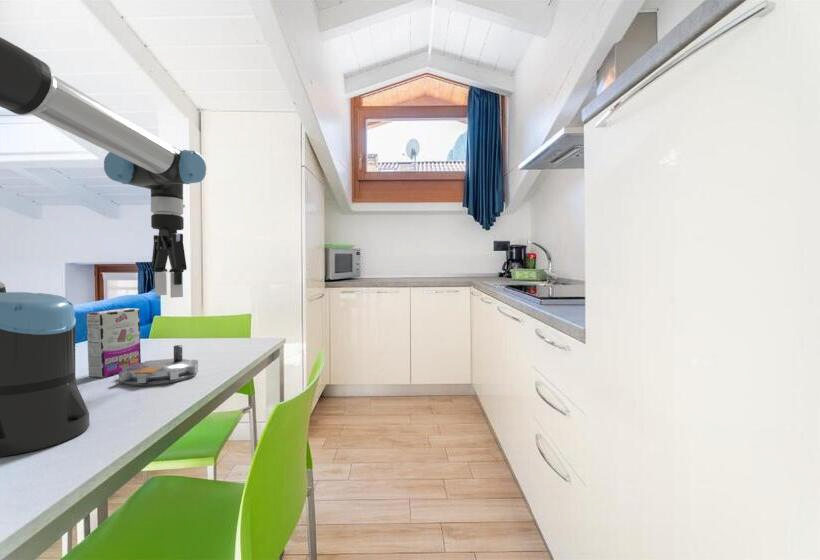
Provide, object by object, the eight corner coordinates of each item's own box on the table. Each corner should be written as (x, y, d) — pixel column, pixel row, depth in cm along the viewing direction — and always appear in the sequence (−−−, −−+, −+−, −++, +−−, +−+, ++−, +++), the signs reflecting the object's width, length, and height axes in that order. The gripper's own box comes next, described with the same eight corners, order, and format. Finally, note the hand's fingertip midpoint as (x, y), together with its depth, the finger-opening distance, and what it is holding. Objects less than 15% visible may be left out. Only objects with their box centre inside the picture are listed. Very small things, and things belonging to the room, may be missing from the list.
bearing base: (134, 390, 89) (134, 387, 89) (113, 377, 99) (113, 374, 99) (207, 376, 102) (207, 372, 102) (181, 365, 112) (181, 363, 112)
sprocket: (132, 387, 89) (132, 360, 88) (109, 373, 99) (108, 350, 99) (211, 372, 102) (210, 348, 102) (183, 361, 113) (182, 340, 112)
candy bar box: (126, 366, 111) (125, 307, 110) (141, 367, 110) (140, 308, 109) (86, 377, 100) (85, 312, 99) (102, 378, 99) (101, 312, 98)
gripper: (200, 213, 104) (201, 297, 104) (166, 219, 118) (167, 293, 119) (168, 209, 98) (169, 299, 99) (137, 216, 112) (138, 294, 113)
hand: (168, 296), depth 109 cm, fingers open, 10 cm apart
